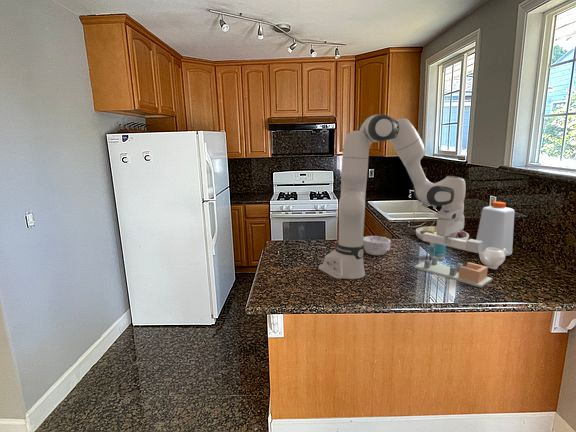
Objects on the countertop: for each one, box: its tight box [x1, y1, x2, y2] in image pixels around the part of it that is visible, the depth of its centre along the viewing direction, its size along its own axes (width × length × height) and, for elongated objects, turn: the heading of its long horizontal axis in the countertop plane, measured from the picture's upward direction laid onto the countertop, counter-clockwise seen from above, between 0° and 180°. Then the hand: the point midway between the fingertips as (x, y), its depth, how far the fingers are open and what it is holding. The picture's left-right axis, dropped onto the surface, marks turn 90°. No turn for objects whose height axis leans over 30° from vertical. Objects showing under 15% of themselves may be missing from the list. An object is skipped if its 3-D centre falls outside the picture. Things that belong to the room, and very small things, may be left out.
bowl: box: [415, 225, 470, 244], centre depth 211 cm, size 30×30×8 cm
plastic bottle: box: [475, 201, 515, 257], centre depth 183 cm, size 15×15×28 cm
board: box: [414, 257, 493, 289], centre depth 156 cm, size 30×12×6 cm, turn 41°
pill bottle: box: [428, 232, 446, 261], centre depth 176 cm, size 8×7×14 cm
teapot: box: [478, 247, 508, 270], centre depth 163 cm, size 10×20×9 cm, turn 112°
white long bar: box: [422, 232, 483, 254], centre depth 155 cm, size 25×4×4 cm, turn 40°
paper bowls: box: [363, 235, 391, 256], centre depth 186 cm, size 15×15×8 cm
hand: (449, 242), depth 155 cm, fingers closed on white long bar, 3 cm apart
